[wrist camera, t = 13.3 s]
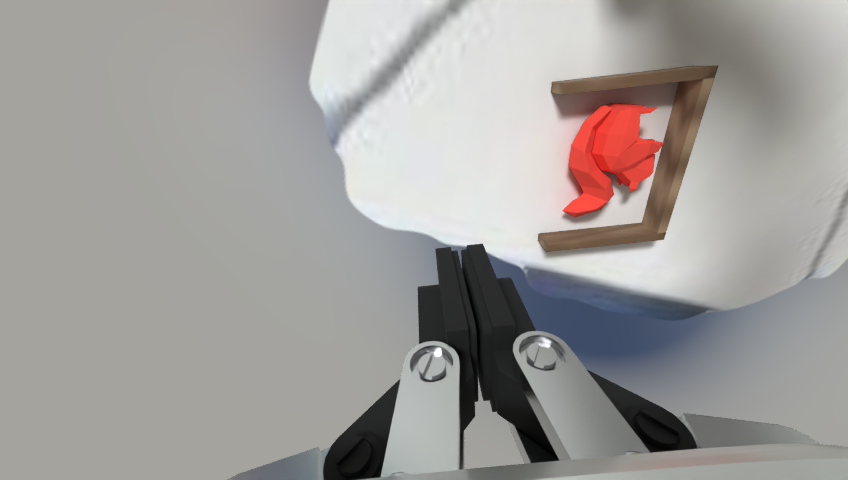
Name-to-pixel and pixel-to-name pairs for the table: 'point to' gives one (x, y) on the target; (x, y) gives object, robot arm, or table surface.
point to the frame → (671, 160)
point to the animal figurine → (610, 155)
